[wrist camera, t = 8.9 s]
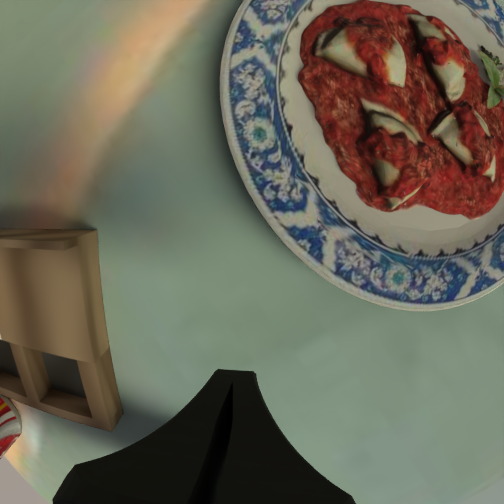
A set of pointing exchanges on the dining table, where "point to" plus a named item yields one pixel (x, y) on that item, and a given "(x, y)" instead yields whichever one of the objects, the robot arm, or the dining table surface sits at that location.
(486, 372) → the dining table surface
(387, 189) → the ceramic plate
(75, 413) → the wooden compartment tray
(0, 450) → the soda can
